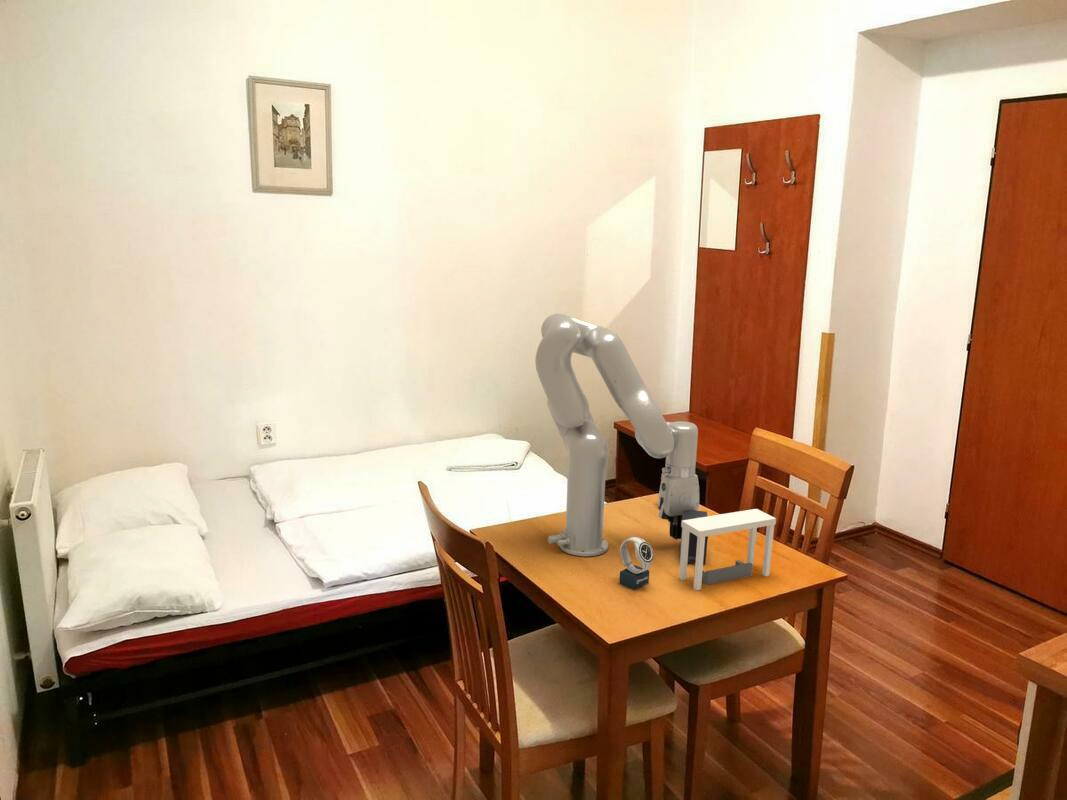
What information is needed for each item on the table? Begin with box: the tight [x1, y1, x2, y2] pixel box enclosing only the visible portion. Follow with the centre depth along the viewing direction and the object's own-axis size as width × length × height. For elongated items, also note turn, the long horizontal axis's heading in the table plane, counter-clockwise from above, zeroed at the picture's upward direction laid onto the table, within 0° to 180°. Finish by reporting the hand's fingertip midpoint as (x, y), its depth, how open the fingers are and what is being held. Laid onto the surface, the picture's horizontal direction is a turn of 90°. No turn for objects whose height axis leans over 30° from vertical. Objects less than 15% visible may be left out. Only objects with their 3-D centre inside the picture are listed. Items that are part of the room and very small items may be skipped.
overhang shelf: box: [678, 508, 777, 591], centre depth 190 cm, size 22×7×14 cm, turn 115°
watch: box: [618, 536, 654, 591], centre depth 185 cm, size 6×8×11 cm
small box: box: [679, 510, 709, 566], centre depth 202 cm, size 11×6×10 cm, turn 170°
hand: (675, 537), depth 209 cm, fingers closed
